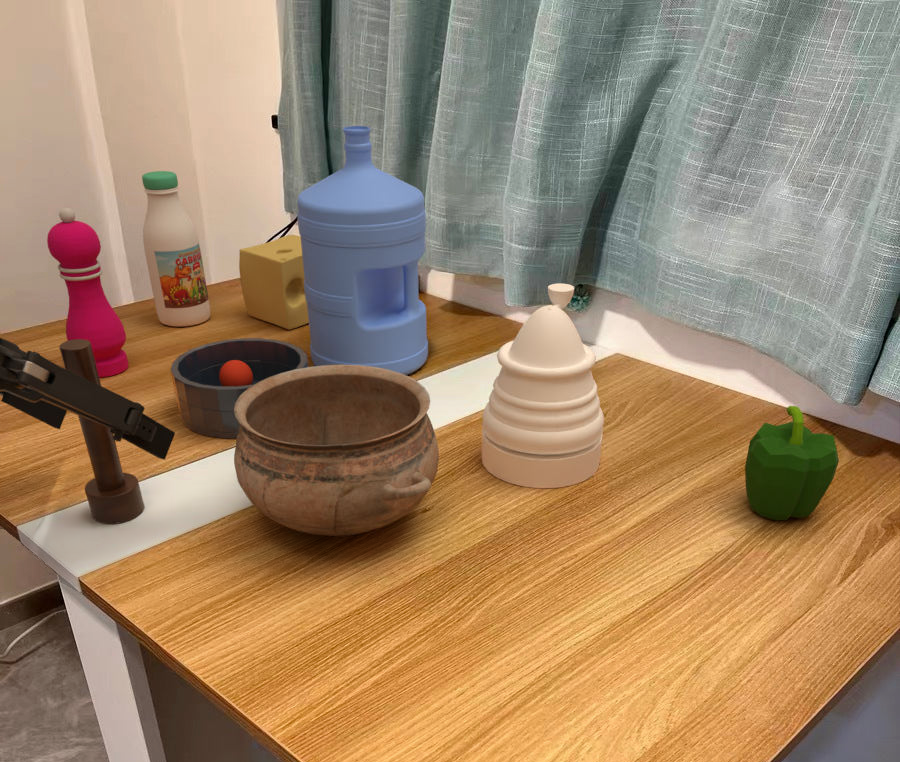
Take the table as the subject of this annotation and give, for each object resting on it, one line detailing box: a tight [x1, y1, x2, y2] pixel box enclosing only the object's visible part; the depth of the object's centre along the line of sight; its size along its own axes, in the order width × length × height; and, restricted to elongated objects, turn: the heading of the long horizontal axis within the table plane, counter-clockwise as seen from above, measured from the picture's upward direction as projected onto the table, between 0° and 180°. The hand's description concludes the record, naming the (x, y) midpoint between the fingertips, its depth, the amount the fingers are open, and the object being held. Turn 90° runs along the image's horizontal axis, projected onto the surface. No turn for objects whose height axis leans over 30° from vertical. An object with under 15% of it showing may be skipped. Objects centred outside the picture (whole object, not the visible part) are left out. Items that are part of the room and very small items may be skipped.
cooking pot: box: [233, 365, 440, 538], centre depth 83 cm, size 25×19×12 cm
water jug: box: [296, 125, 429, 376], centre depth 111 cm, size 16×16×28 cm
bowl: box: [170, 337, 309, 440], centre depth 105 cm, size 16×16×6 cm
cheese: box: [238, 234, 309, 331], centre depth 131 cm, size 10×11×10 cm
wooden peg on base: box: [59, 339, 145, 525], centre depth 83 cm, size 5×5×17 cm
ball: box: [219, 360, 253, 387], centre depth 108 cm, size 4×4×4 cm
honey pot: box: [481, 283, 605, 489], centre depth 91 cm, size 13×13×18 cm
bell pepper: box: [744, 405, 840, 521], centre depth 85 cm, size 8×8×10 cm
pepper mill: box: [46, 207, 130, 379], centre depth 111 cm, size 7×7×20 cm
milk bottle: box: [141, 170, 212, 327], centre depth 127 cm, size 8×8×20 cm
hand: (113, 430), depth 84 cm, fingers open, 13 cm apart
